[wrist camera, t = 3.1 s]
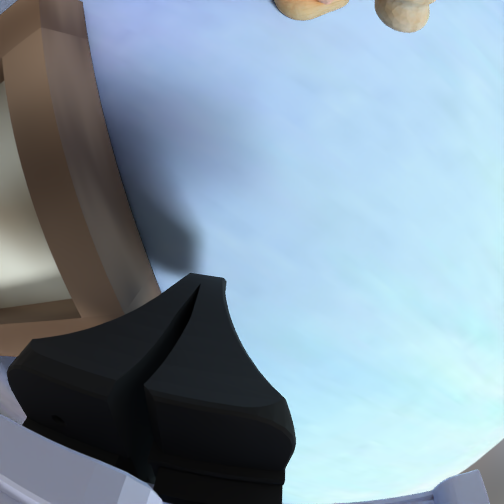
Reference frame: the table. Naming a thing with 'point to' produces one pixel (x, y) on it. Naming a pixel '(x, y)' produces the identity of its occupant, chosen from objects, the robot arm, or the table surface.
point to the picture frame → (59, 186)
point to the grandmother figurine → (386, 6)
